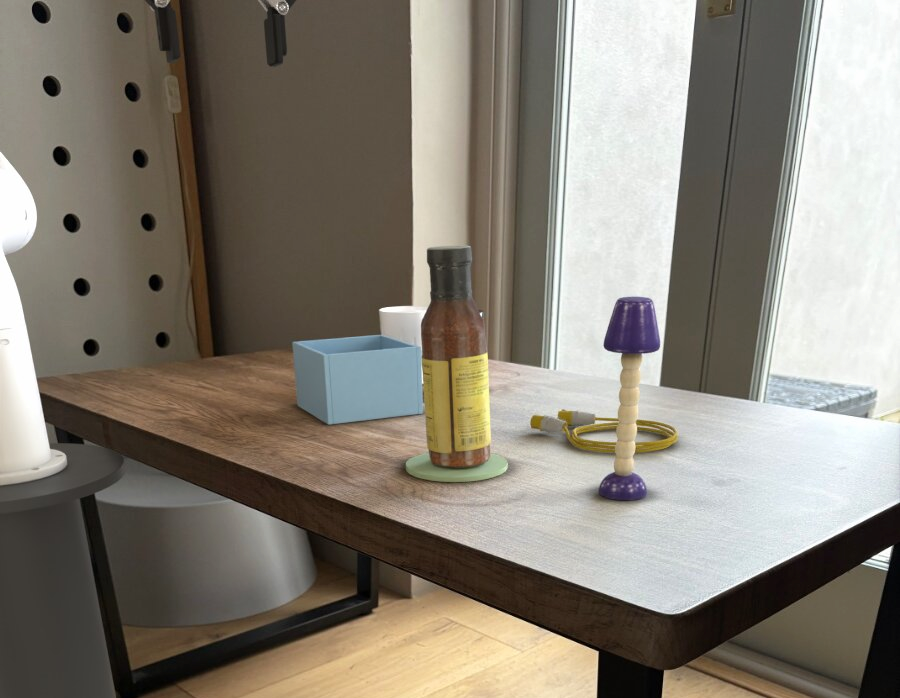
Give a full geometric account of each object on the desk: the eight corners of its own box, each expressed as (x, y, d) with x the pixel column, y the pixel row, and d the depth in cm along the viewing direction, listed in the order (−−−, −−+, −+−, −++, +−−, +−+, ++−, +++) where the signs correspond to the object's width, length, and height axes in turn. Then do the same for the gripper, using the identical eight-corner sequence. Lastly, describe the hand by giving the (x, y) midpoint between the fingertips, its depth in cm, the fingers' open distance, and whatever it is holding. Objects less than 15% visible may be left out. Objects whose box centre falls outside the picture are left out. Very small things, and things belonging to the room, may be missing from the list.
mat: (431, 487, 85) (431, 482, 85) (390, 462, 93) (389, 457, 93) (526, 473, 89) (526, 468, 89) (478, 450, 97) (478, 445, 97)
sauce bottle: (495, 455, 93) (496, 244, 85) (484, 472, 88) (484, 247, 80) (431, 453, 94) (426, 244, 86) (417, 469, 89) (410, 248, 81)
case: (328, 424, 109) (323, 355, 106) (297, 405, 119) (292, 341, 116) (423, 413, 114) (421, 346, 110) (385, 396, 124) (382, 334, 121)
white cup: (429, 375, 137) (427, 304, 133) (443, 384, 130) (441, 310, 126) (376, 378, 136) (373, 307, 131) (388, 388, 129) (385, 313, 125)
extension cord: (608, 416, 110) (609, 400, 110) (701, 444, 98) (703, 425, 97) (522, 429, 105) (522, 412, 104) (609, 461, 92) (610, 441, 92)
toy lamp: (659, 498, 81) (675, 299, 74) (612, 505, 79) (624, 302, 73) (631, 484, 85) (643, 293, 78) (585, 490, 84) (594, 296, 77)
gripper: (104, -193, 74) (137, 54, 81) (312, -164, 81) (325, 62, 88) (93, -162, 80) (124, 64, 87) (287, -138, 87) (301, 71, 94)
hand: (225, 63), depth 88 cm, fingers open, 9 cm apart
